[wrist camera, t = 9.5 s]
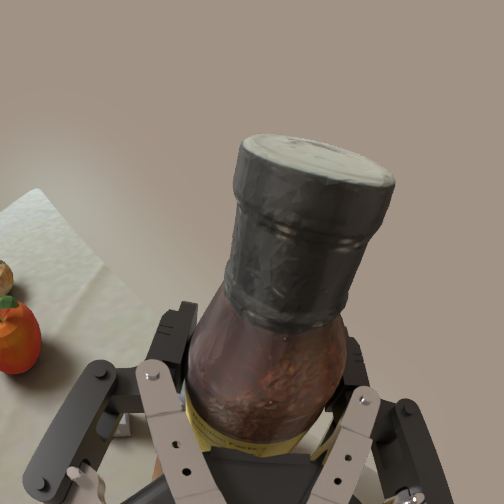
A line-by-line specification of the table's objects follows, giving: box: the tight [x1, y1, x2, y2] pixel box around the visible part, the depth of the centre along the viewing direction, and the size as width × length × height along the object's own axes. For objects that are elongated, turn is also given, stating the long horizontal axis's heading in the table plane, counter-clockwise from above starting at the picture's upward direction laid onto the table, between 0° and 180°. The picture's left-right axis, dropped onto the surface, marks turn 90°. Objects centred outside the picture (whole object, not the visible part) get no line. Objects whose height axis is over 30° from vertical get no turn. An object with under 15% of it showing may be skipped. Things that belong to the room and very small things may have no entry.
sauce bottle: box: [184, 134, 395, 457], centre depth 12 cm, size 7×6×20 cm
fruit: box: [0, 295, 41, 374], centre depth 26 cm, size 10×10×10 cm
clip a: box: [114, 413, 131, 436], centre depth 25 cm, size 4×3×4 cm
